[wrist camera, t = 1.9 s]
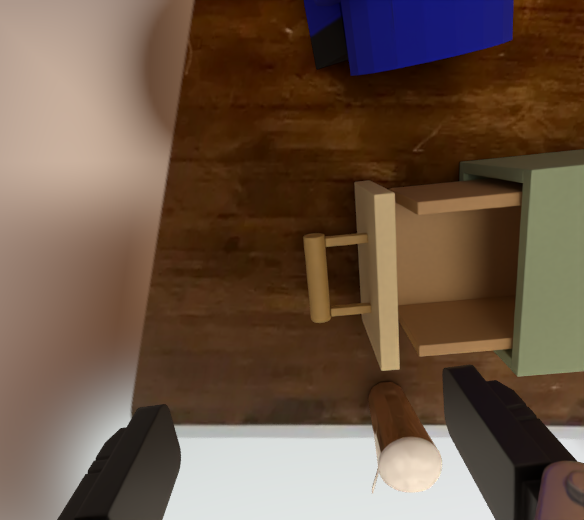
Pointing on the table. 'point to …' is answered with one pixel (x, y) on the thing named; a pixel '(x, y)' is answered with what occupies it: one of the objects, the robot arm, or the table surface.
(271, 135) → the table surface
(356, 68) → the alarm clock
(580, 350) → the cabinet
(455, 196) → the drawer
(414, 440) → the milkshake
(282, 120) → the table surface
